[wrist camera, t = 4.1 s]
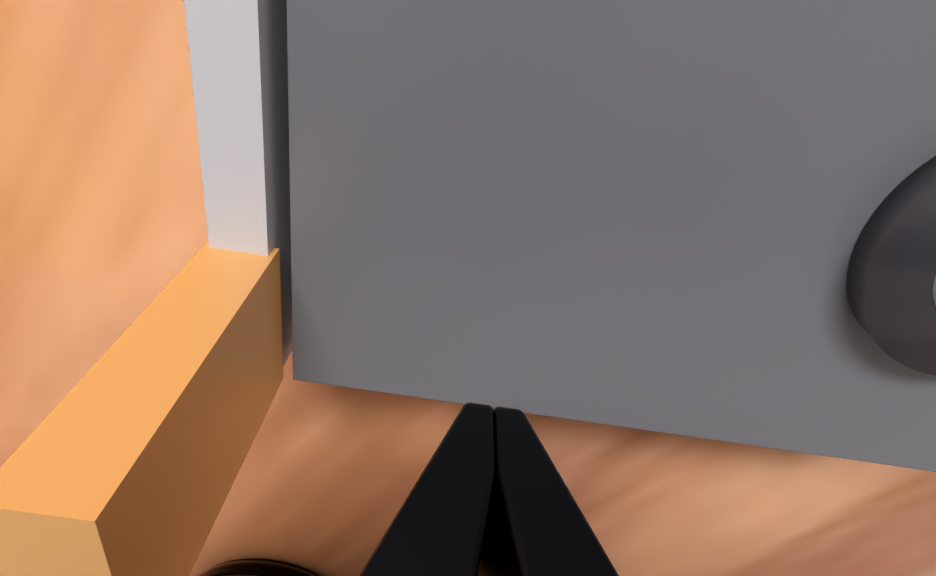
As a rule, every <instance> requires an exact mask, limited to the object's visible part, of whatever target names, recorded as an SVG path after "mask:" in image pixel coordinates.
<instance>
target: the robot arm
mask: <svg viewBox="0 0 936 576" xmlns="http://www.w3.org/2000/svg"><path fill="white" fill-rule="evenodd" d="M359 576H619V575H618V574H617V572H616V570H615V568H614V567H613V565H612V563H611V562H610V560H609V558H608V556H607V555H606V553H605V551H604V550H603V548H602V546H601V544H600V543H599V541H598V539H597V538H596V536H595V534H594V532H593V531H592V529H591V527H590V526H589V524H588V522H587V520H586V519H585V517H584V515H583V514H582V512H581V510H580V509H579V507H578V505H577V503H576V502H575V500H574V498H573V497H572V495H571V493H570V491H569V490H568V488H567V486H566V485H565V483H564V481H563V479H562V478H561V476H560V474H559V473H558V471H557V469H556V467H555V466H554V464H553V462H552V461H551V459H550V457H549V455H548V454H547V452H546V450H545V449H544V447H543V445H542V443H541V442H540V440H539V438H538V437H537V435H536V433H535V431H534V430H533V428H532V426H531V425H530V423H529V421H528V420H527V418H526V416H525V414H524V413H523V412H522V411H521V410H519V409H514V408H507V407H496V408H495V409H494V410H493V408H492V407H491V406H490V405H485V404H478V403H471V402H468V403H466V404H465V405H464V406H463V408H462V409H461V411H460V413H459V414H458V416H457V417H456V419H455V421H454V422H453V424H452V426H451V427H450V429H449V430H448V432H447V434H446V435H445V437H444V439H443V440H442V442H441V443H440V445H439V447H438V448H437V450H436V452H435V453H434V455H433V456H432V458H431V460H430V461H429V463H428V465H427V466H426V468H425V469H424V471H423V473H422V474H421V476H420V478H419V479H418V481H417V482H416V484H415V486H414V487H413V489H412V491H411V492H410V494H409V495H408V497H407V499H406V500H405V502H404V504H403V505H402V507H401V508H400V510H399V512H398V513H397V515H396V517H395V518H394V520H393V521H392V523H391V525H390V526H389V528H388V530H387V531H386V533H385V534H384V536H383V538H382V539H381V541H380V542H379V544H378V546H377V547H376V549H375V551H374V552H373V554H372V555H371V557H370V559H369V560H368V562H367V564H366V565H365V567H364V568H363V570H362V572H361V573H360V575H359Z"/></svg>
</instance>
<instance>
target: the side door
mask: <svg viewBox="0 0 936 576" xmlns="http://www.w3.org/2000/svg"><path fill="white" fill-rule="evenodd" d="M184 7H185V17H186V26H187V36H188V46H189V56H190V66H191V75H192V85H193V95H194V105H195V115H196V124H197V134H198V144H199V154H200V164H201V173H202V183H203V193H204V203H205V213H206V222H207V232H208V241H207V242H206V244H205V245H204V246H203V247H202V248H201V249H200V250H199V251H198V252H197V253H196V254H195V256H194V257H193V258H192V259H191V260H190V261H189V262H188V263H187V264H186V265H185V267H184V268H183V269H182V270H181V271H180V272H179V273H178V274H177V275H176V276H175V277H174V279H173V280H172V281H171V282H170V283H169V284H168V285H167V286H166V287H165V288H164V289H163V291H162V292H161V293H160V294H159V295H158V296H157V297H156V298H155V299H154V300H153V301H152V303H151V304H150V305H149V306H148V307H147V308H146V309H145V310H144V311H143V312H142V313H141V315H140V316H139V317H138V318H137V319H136V320H135V321H134V322H133V323H132V324H131V325H130V327H129V328H128V329H127V330H126V331H125V332H124V333H123V334H122V335H121V336H120V337H119V339H118V340H117V341H116V342H115V343H114V344H113V345H112V346H111V347H110V348H109V349H108V351H107V352H106V353H105V354H104V355H103V356H102V357H101V358H100V359H99V360H98V362H97V363H96V364H95V365H94V366H93V367H92V368H91V369H90V370H89V371H88V372H87V374H86V375H85V376H84V377H83V378H82V379H81V380H80V381H79V382H78V383H77V384H76V386H75V387H74V388H73V389H72V390H71V391H70V392H69V393H68V394H67V395H66V396H65V398H64V399H63V400H62V401H61V402H60V403H59V404H58V405H57V406H56V407H55V408H54V410H53V411H52V412H51V413H50V414H49V415H48V416H47V417H46V418H45V419H44V420H43V422H42V423H41V424H40V425H39V426H38V427H37V428H36V429H35V430H34V431H33V432H32V434H31V435H30V436H29V437H28V438H27V439H26V440H25V441H24V442H23V443H22V444H21V446H20V447H19V448H18V449H17V450H16V451H15V452H14V453H13V454H12V455H11V456H10V458H9V459H8V460H7V461H6V462H5V463H4V464H3V465H2V466H1V467H0V574H1V576H189V574H190V572H191V570H192V568H193V566H194V564H195V562H196V560H197V558H198V556H199V553H200V551H201V549H202V547H203V545H204V543H205V541H206V539H207V537H208V535H209V533H210V530H211V528H212V526H213V524H214V522H215V520H216V518H217V516H218V514H219V512H220V509H221V507H222V505H223V503H224V501H225V499H226V497H227V495H228V493H229V491H230V489H231V486H232V484H233V482H234V480H235V478H236V476H237V474H238V472H239V470H240V468H241V466H242V463H243V461H244V459H245V457H246V455H247V453H248V451H249V449H250V447H251V445H252V443H253V440H254V438H255V436H256V434H257V432H258V430H259V428H260V426H261V424H262V422H263V420H264V417H265V415H266V413H267V411H268V409H269V407H270V405H271V403H272V401H273V399H274V396H275V394H276V392H277V390H278V388H279V386H280V384H281V382H282V380H283V367H284V365H285V363H286V361H287V359H288V357H289V355H290V353H291V350H292V348H293V338H292V280H291V222H290V164H289V106H288V48H287V0H184Z"/></svg>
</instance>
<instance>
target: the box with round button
mask: <svg viewBox="0 0 936 576" xmlns="http://www.w3.org/2000/svg"><path fill="white" fill-rule="evenodd" d="M287 48H288V106H289V164H290V222H291V280H292V338H293V380H300V381H307V382H314V383H321V384H328V385H335V386H342V387H349V388H356V389H363V390H370V391H377V392H384V393H391V394H398V395H405V396H412V397H419V398H426V399H433V400H440V401H447V402H453V403H460V404H466V403H468V402H471V403H478V404H485V405H490V406H491V407H492V408H496V407H507V408H514V409H519V410H521V411H522V412H523V413H530V414H537V415H544V416H551V417H558V418H565V419H572V420H579V421H586V422H593V423H600V424H607V425H614V426H621V427H628V428H634V429H641V430H648V431H655V432H662V433H669V434H676V435H683V436H690V437H697V438H704V439H711V440H718V441H725V442H732V443H739V444H746V445H753V446H760V447H767V448H774V449H781V450H788V451H795V452H802V453H809V454H815V455H822V456H829V457H836V458H843V459H850V460H857V461H864V462H871V463H878V464H885V465H892V466H899V467H906V468H913V469H920V470H927V471H934V472H936V0H287Z"/></svg>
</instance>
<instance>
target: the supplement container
mask: <svg viewBox="0 0 936 576" xmlns="http://www.w3.org/2000/svg"><path fill="white" fill-rule="evenodd" d="M199 576H319V575H317V574H315V573H313V572H311V571H309V570H306V569H304V568H301V567H298V566H295V565H292V564H289V563H284V562H280V561H274V560H266V559H240V560H233V561H229V562H225V563H222V564H219V565H217V566H214V567H212V568H210V569H208V570H206V571H205V572H203V573H201V574H200V575H199Z"/></svg>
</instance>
